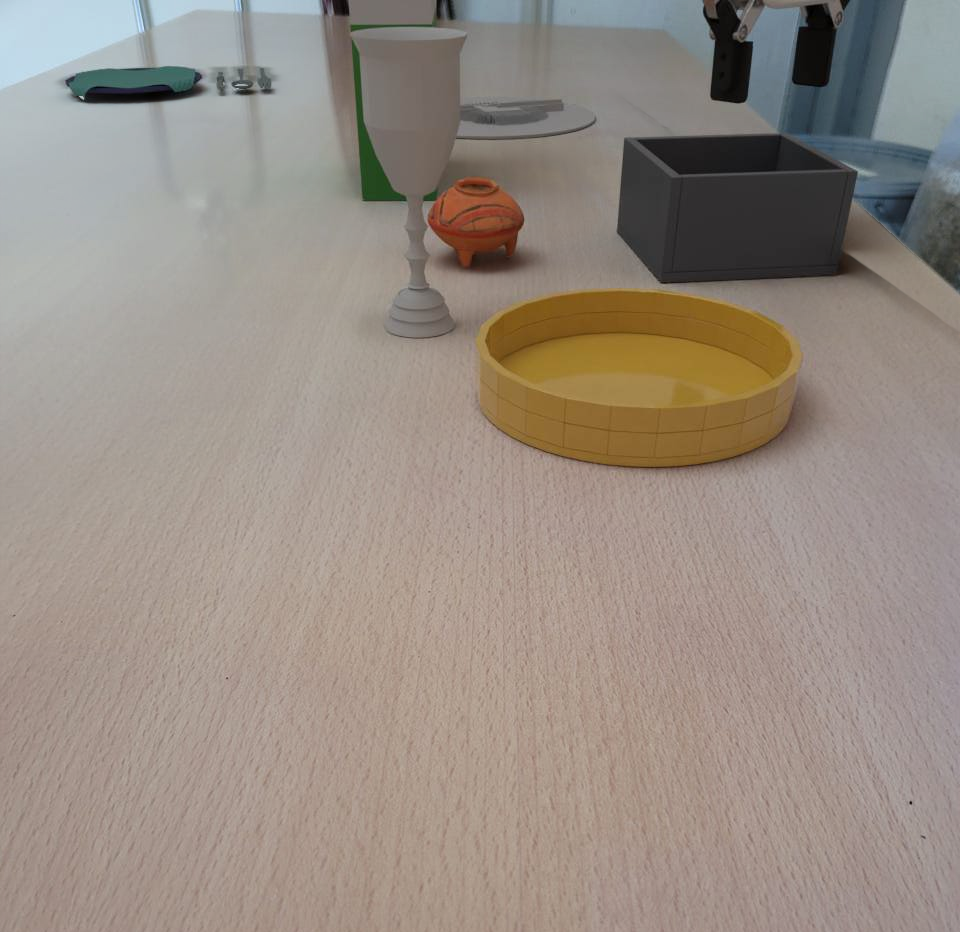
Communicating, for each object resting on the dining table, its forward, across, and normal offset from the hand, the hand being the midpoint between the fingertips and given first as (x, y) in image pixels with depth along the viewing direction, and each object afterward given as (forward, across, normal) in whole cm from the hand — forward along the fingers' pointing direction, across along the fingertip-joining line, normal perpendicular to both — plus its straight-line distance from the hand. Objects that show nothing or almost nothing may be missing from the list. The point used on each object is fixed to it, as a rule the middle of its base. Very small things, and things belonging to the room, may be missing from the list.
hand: (769, 93), depth 78 cm
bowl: (+12, -29, -15) cm, 35 cm away
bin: (+12, -2, +2) cm, 12 cm away
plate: (+11, +20, +62) cm, 66 cm away
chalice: (+12, -32, +3) cm, 34 cm away
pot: (+12, -20, +13) cm, 26 cm away
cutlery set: (+9, -4, +108) cm, 109 cm away
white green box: (+11, -8, +40) cm, 43 cm away
